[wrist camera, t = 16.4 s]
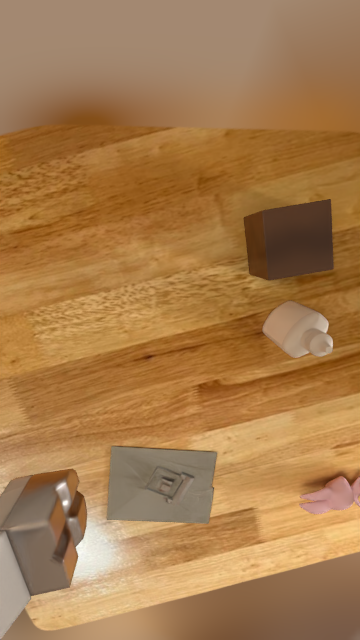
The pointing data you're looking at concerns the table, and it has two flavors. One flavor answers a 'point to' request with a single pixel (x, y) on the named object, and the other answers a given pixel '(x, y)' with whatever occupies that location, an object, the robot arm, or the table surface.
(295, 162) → the table surface
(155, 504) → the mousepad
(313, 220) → the walnut block
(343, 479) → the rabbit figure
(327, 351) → the eye dropper bottle
